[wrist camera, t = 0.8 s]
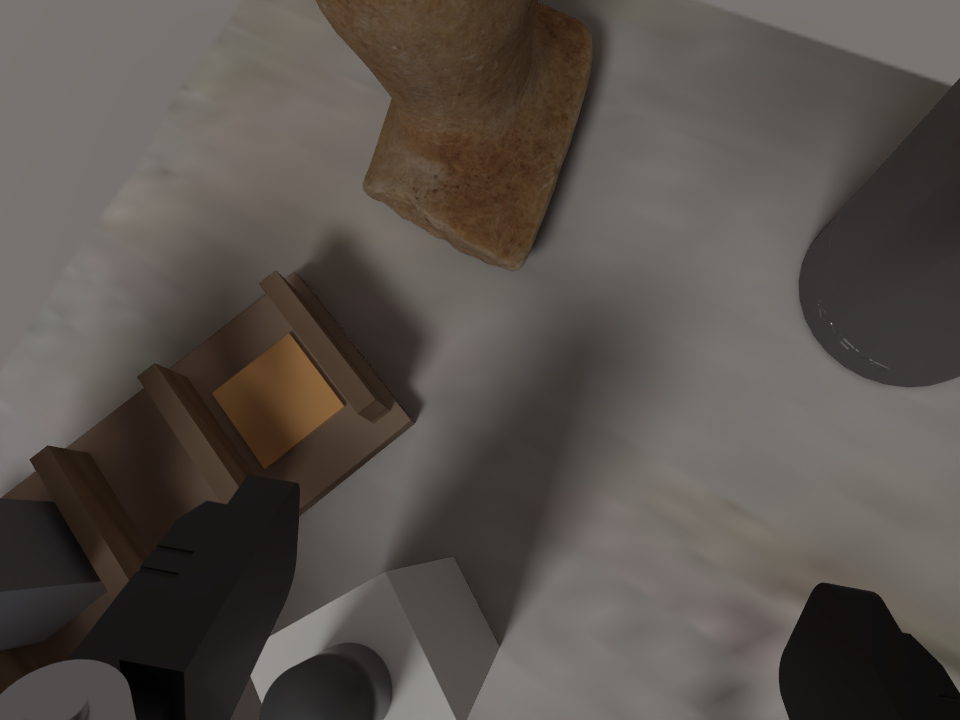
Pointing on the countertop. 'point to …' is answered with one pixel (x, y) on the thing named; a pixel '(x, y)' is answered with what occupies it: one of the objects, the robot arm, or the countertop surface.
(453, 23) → the stone cup
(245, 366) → the comb rack
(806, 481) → the countertop surface
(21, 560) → the grey square bottle
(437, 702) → the white square bottle
